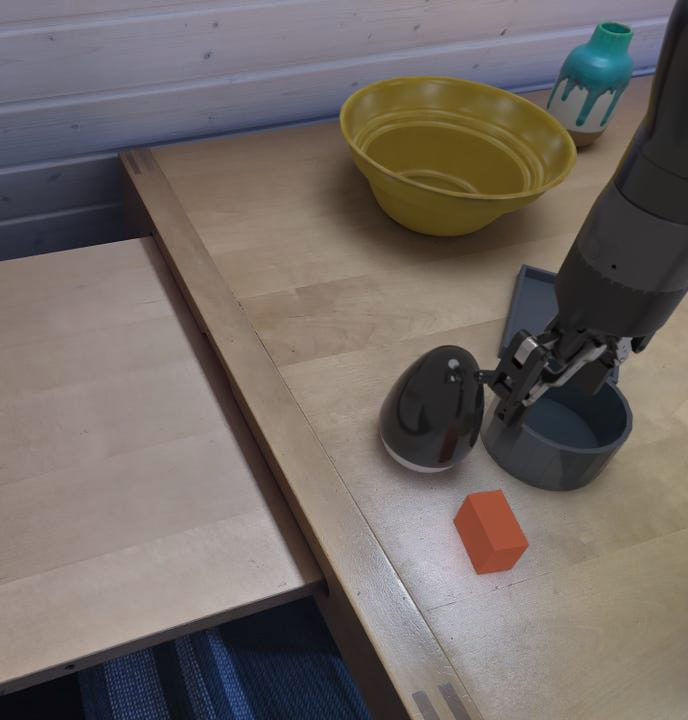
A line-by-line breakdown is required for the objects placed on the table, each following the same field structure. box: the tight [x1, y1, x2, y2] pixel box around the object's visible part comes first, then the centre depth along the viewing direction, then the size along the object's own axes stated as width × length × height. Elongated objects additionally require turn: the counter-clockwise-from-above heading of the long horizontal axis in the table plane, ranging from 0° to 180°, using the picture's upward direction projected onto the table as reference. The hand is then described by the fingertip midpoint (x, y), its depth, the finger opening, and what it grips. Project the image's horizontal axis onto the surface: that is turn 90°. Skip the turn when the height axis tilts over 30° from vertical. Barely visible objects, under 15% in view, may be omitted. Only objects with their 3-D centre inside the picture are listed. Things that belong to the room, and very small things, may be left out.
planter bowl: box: [338, 75, 578, 237], centre depth 103 cm, size 32×32×13 cm
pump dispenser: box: [377, 344, 495, 474], centre depth 73 cm, size 10×10×15 cm
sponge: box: [453, 489, 530, 575], centre depth 69 cm, size 4×6×5 cm, turn 10°
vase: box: [544, 19, 635, 148], centre depth 116 cm, size 11×11×19 cm
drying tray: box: [497, 263, 620, 386], centre depth 91 cm, size 17×13×2 cm
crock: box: [480, 356, 634, 492], centre depth 77 cm, size 13×13×7 cm
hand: (544, 405), depth 58 cm, fingers open, 8 cm apart
